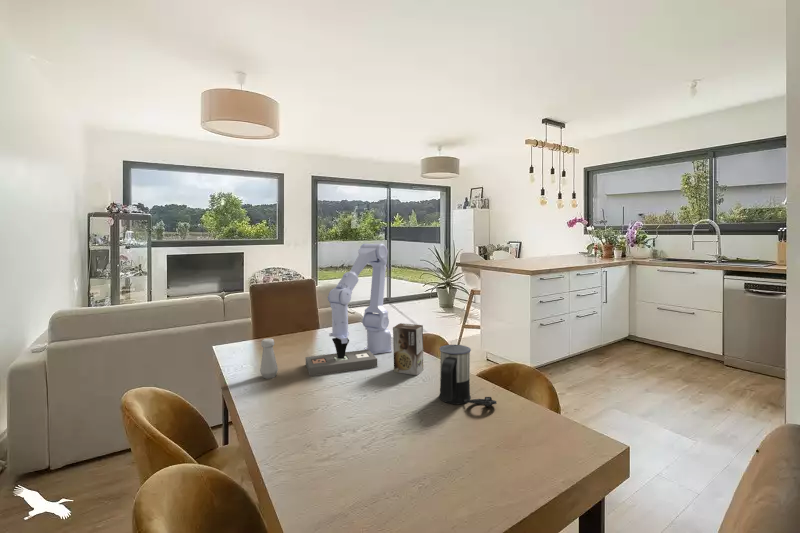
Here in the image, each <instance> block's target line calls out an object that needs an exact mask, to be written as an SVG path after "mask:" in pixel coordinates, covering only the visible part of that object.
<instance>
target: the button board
mask: <svg viewBox="0 0 800 533" xmlns="http://www.w3.org/2000/svg"><path fill="white" fill-rule="evenodd" d="M364 353H367V354H368V355H369V357H362V358H357V357H356V356H355V355H356V354H364ZM345 356H346V357H347V358H348V359H346V360H339V361H335V359H334V357H338V356H337V352H336V353H335V352H334V353H328V354H321V355H311V356H305V367H306V369H307V372H308V375H309V377H315V376H320V375H328V374H329V375H330V374H335V373H342V372H343V373H344V372H351V371H357V370H364V369H365V370H366V369H373V368H377V367H378V357H377V356H375V354H372V353H371V352H370V351H369V350H365V349H362V350H361V349H360V350H352V351H345ZM323 358H324V359H325V361H326V362H323V363H315V364H313V363H312V360H315V359H323ZM372 367H373V368H372Z"/></svg>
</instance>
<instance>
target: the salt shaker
mask: <svg viewBox="0 0 800 533" xmlns="http://www.w3.org/2000/svg"><path fill="white" fill-rule="evenodd" d="M260 346H261V347H262V353H261V360H260V361H261V362H260V370H259V371H260V375H261V377H262V378H263V379H265V380H268V379H273V378H275V377H276V376H277V374H278V371H279V367H278V364H277V363H278V362H277V359H276V354H275V351H274V346H275V339H273V338H270V337H269V338H264V339H262V340H261V342H260Z"/></svg>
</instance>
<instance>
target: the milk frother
mask: <svg viewBox="0 0 800 533" xmlns="http://www.w3.org/2000/svg"><path fill="white" fill-rule="evenodd" d="M439 351H440V362H439V363H440V366H439V368H440V369H439V370H440V372H439V373H440V374H439V376H440V377H439V378H440V381H439V382H440V386H439V396H438V397H439V399H440V401H442V402H444V403H447V404H452V405H461V404H465V403H467V404H468V403H469V404H478V405H484V406H485V407H489V408H490V407H492V406H493V405H497V400H494V399H492V396H484V398H475V399H474V398H473V399H472V397H471V391H470V390H471V388H470V386H471V385H470V384H471V383H470V380H471V378H470V377H471V375H470V374H471V371H470V368H471V364H470V363H471V355H470V354H471V351H472V349H471V348H470V347H469V346H466V345H462V344H446V345H442V346H440V347H439Z"/></svg>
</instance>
